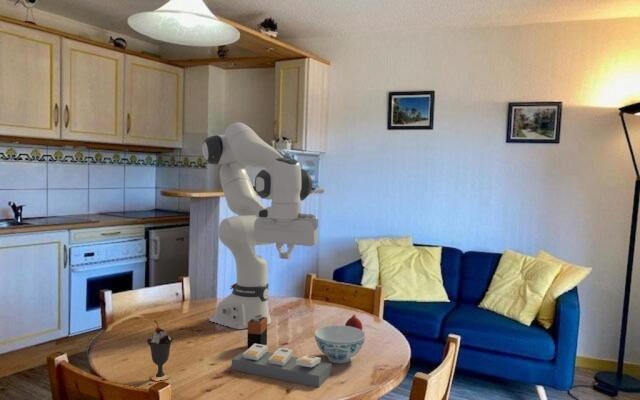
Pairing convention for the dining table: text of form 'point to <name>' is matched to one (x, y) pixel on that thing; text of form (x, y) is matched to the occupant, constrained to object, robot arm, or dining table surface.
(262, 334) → the battery
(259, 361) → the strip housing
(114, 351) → the dining table surface
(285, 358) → the rocker
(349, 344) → the chinaware
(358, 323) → the red rounded piece
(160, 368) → the sundae
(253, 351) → the rocker
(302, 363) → the block
